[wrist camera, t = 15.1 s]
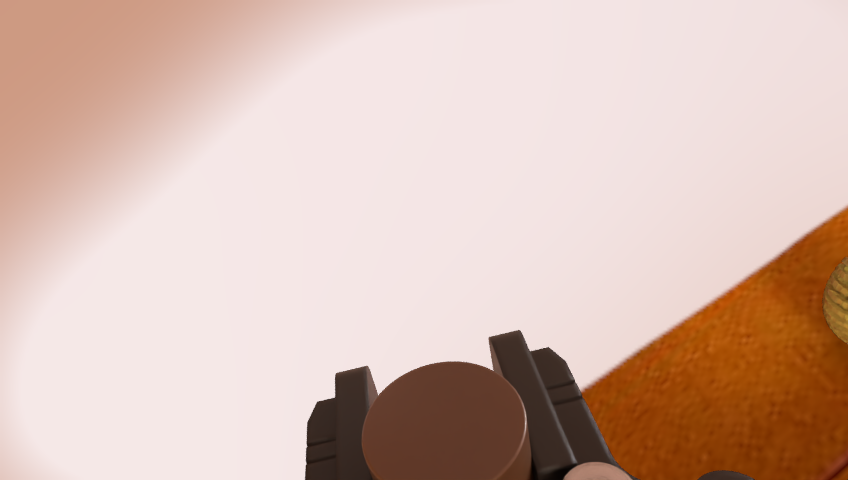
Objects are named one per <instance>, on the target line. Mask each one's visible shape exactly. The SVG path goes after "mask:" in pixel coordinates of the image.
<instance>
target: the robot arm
mask: <svg viewBox="0 0 848 480" xmlns="http://www.w3.org/2000/svg"><path fill="white" fill-rule="evenodd" d="M489 345H490V351H491V358H492V363H493V370H494V372H496V373H498V374H499V375H501V376H502V377H503V378H505V379H506V380H507V381H508V382H509V383H510V384H511V385H512V386H513V387H514V388H515V390H516V391H517V393H518V394H519V396H520V398H521V400H522V402H523V404H524V407H525V411H526V416H527V424H528V432H529V439H530V447H531V456H532V464H533V472H534V479H535V480H640V479H637V478H635V477H634V476H632V475H630V474H629V473H627V472H626V471H625V470H624V469H622V468H621V467H620V466H619V465H618V463H617V462H616V461H615V460H614V458H613V456H612V455H611V453H610V451H609V449H608V447H607V445H606V443H605V440H604V438H603V436H602V434H601V432H600V430H599V428H598V426H597V424H596V422H595V420H594V418H593V416H592V414H591V412H590V410H589V408H588V406H587V404H586V402H585V400H584V399H583V397H582V394H581V392H580V390H579V388H578V386H577V384H576V383H575V380H574V377H573V375H572V373H571V371H570V369H569V367H568V365H567V363H566V362H565V360H563V359H562V358H561V357H560V356H559V355H557V354H556V353H555V352H553V350H551V349H550V348H549V347H548V348H543V349H539V350H535V351H529V349H528V347H527V344H526V342H525V339H524V337H523V335H522V333H521V331H520V330H518V331H513V332H509V333H505V334H500V335H497V336H492V337H489ZM377 397H378V394H377V390H376V387H375V384H374V381H373V378H372V375H371V372H370V369H369V367H368V366H364V367H360V368H356V369H352V370H347V371H343V372H339V373H336V375H335V398H332V399H327V400H324V401H319V402H317V404H316V406H315V408H314V410H313V412H312V414H311V416H310V418H309V420H308V423H307V448H306V463H307V465H306V472H305V480H373V479H372V476H371V474H370V471H369V468H368V466H367V463H366V460H365V457H364V454H363V449H362V430H363V425H364V421H365V418H366V415H367V413H368V411H369V409H370V407H371V405H372V404H373V402H374V401H375V399H376V398H377ZM698 480H755V479H753V478H751V477H749V476H747V475H744V474H741V473H738V472H734V471H725V470H721V471H713V472H709V473H707V474H705V475H703V476H701V477H700V478H699V479H698Z"/></svg>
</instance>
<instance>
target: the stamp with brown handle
mask: <svg viewBox="0 0 848 480" xmlns="http://www.w3.org/2000/svg"><path fill="white" fill-rule="evenodd" d="M362 449H363V454H364V457H365V460H366V463H367V466H368V468H369V471H370V474H371V476H372V479H373V480H535V479H534V472H533V464H532V456H531V447H530V439H529V432H528V424H527V416H526V411H525V407H524V404H523V402H522V400H521V398H520V396H519V394H518V393H517V391H516V390H515V388H514V387H513V386H512V385H511V384H510V383H509V382H508V381H507V380H506V379H505V378H503V377H502V376H501V375H499V374H498V373H496V372H494V371H492V370H490V369H488V368H486V367H483V366H480V365H477V364H472V363H467V362H440V363H434V364H429V365H426V366H423V367H420V368H417V369H414V370H412V371H410V372H408V373H406V374H404V375H403V376H401V377H399V378H398V379H396V380H395V381H394V382H392V383H391V384H390V385H388V386H387V387H386V388H385V389H384V390H383V391H382V392H381V393H380V394H379V396H378V397H377V398H376V399H375V401H374V402H373V404H372V405H371V407H370V409H369V411H368V413H367V415H366V418H365V421H364V425H363V430H362Z"/></svg>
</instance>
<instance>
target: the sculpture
mask: <svg viewBox="0 0 848 480" xmlns="http://www.w3.org/2000/svg"><path fill="white" fill-rule="evenodd" d="M842 262H843V263H844V264H839V265H838V266H837V267H836V268H835V271H833V273H832V274H831V276H830V278H829V280H828V281H827V282H828V283H827V284H826V288H825V289H824V294H823V299H822V303H823V314H824V316H825V319H826V322H827V323H828V325H829V327H830V329H831V330H832V331H833V333H834V334H835V335H836V336H837V337H838V338H839V339H841V340H842V341H843V342H845V343H847V344H848V258H847V257H846V258H845V259H844V260H842Z"/></svg>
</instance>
